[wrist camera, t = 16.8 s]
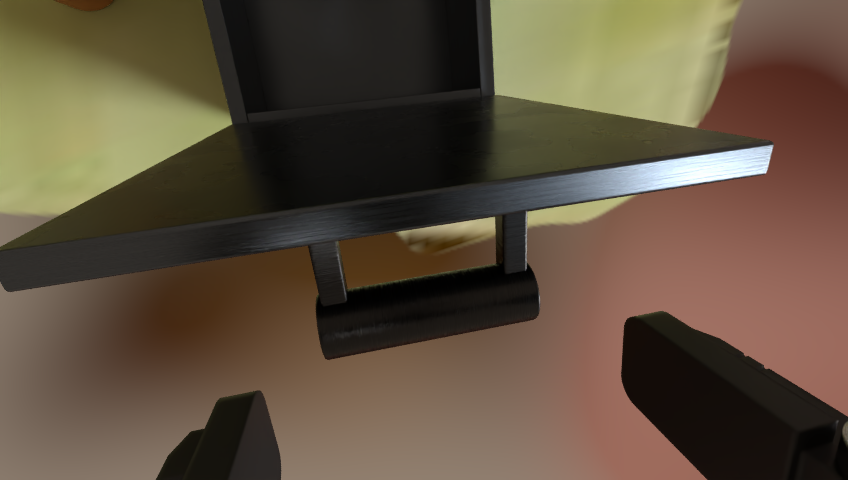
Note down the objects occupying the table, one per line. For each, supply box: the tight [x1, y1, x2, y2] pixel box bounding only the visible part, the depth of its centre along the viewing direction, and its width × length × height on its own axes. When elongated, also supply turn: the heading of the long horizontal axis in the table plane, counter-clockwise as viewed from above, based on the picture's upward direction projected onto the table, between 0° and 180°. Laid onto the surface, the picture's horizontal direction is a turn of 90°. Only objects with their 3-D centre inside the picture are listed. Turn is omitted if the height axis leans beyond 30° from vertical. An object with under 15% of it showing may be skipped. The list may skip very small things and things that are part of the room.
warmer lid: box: [0, 95, 774, 360], centre depth 17 cm, size 18×16×5 cm
